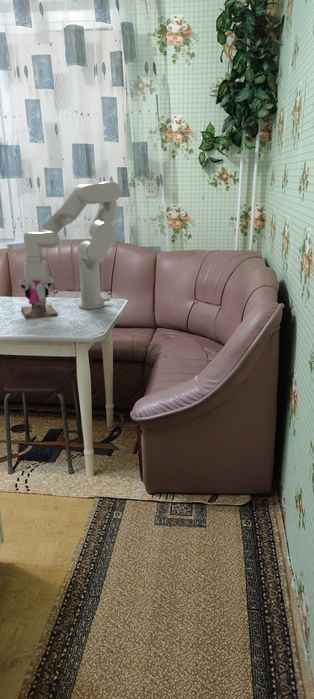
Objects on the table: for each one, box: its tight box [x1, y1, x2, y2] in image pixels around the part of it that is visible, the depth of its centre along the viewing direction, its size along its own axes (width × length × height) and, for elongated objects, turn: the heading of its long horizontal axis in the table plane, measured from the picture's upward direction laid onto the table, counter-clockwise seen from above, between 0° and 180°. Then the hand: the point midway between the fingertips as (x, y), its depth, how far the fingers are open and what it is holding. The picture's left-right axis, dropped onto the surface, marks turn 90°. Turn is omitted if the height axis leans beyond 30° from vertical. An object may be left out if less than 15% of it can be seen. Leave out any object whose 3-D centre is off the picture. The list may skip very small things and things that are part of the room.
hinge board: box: [21, 302, 59, 320], centre depth 239 cm, size 14×18×6 cm
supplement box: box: [28, 280, 47, 305], centre depth 237 cm, size 6×6×12 cm
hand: (37, 297), depth 238 cm, fingers closed on supplement box, 7 cm apart
